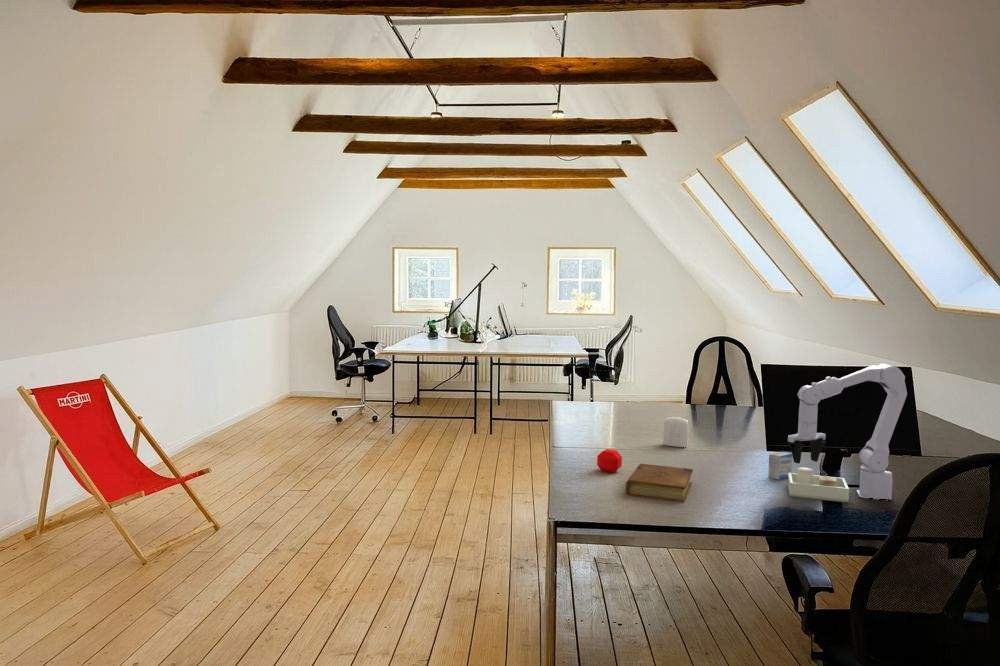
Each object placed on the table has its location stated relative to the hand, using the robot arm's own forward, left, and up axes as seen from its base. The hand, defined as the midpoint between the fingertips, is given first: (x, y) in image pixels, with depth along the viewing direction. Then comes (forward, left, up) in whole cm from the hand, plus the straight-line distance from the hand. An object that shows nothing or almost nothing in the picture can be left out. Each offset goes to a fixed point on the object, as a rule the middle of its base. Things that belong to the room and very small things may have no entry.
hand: (805, 461), depth 247 cm
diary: (+46, +15, -11) cm, 50 cm away
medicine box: (+7, -17, -11) cm, 21 cm away
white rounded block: (+47, -52, -11) cm, 71 cm away
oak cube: (-7, +1, -10) cm, 12 cm away
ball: (+66, -1, -11) cm, 67 cm away
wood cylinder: (0, 0, -10) cm, 10 cm away
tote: (-4, 0, -10) cm, 11 cm away
